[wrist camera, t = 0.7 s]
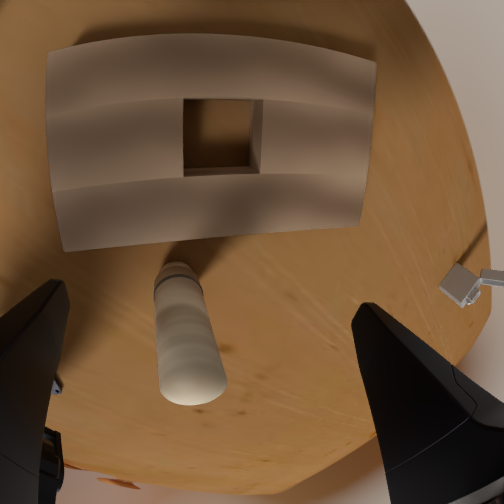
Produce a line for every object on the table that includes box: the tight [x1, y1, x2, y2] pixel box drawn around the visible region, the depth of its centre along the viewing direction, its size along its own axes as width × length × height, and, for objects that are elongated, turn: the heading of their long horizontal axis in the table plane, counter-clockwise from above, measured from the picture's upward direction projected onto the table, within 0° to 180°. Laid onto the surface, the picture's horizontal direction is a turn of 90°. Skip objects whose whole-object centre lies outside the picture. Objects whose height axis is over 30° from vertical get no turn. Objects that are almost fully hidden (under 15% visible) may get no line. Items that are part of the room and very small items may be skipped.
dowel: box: [154, 261, 227, 405], centre depth 17 cm, size 3×3×10 cm
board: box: [46, 33, 376, 252], centre depth 16 cm, size 12×20×2 cm, turn 88°
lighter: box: [439, 263, 504, 308], centre depth 29 cm, size 7×2×8 cm, turn 137°
